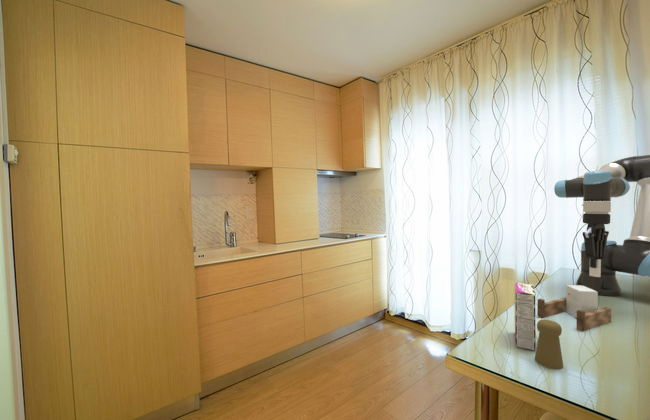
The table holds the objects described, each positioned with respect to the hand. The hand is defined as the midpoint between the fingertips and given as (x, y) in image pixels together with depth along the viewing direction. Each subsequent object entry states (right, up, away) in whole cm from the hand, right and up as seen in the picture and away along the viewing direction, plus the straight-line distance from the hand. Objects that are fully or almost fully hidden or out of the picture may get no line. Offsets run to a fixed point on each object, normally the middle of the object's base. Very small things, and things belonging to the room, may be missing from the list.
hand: (594, 276), depth 109 cm
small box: (-8, -14, -3) cm, 16 cm away
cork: (-42, -16, -32) cm, 55 cm away
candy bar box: (-40, -15, -21) cm, 48 cm away
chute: (-12, -14, -5) cm, 19 cm away
